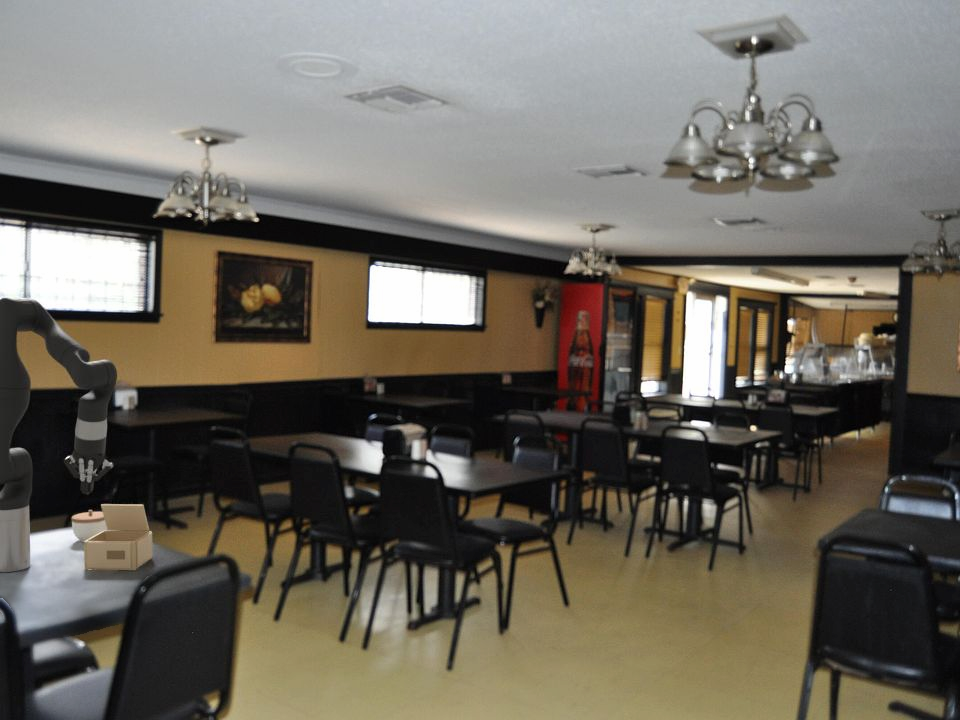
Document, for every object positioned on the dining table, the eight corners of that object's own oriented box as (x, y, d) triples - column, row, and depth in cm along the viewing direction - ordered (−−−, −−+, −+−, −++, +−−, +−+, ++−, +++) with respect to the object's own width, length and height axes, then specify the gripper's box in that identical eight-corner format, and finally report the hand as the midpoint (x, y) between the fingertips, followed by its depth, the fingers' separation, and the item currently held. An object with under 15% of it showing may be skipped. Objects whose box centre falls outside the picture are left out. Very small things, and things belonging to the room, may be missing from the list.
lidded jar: (71, 537, 272) (70, 508, 271) (108, 534, 277) (107, 505, 276) (73, 546, 262) (72, 515, 262) (111, 541, 267) (110, 512, 267)
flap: (107, 530, 249) (100, 505, 245) (108, 529, 250) (101, 504, 246) (148, 530, 249) (142, 505, 245) (149, 529, 250) (143, 504, 245)
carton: (81, 570, 237) (81, 542, 237) (102, 557, 250) (102, 530, 249) (135, 571, 237) (135, 542, 237) (153, 558, 250) (153, 531, 249)
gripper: (121, 432, 232) (116, 491, 236) (71, 424, 231) (67, 483, 235) (111, 442, 225) (105, 502, 229) (59, 434, 224) (55, 494, 228)
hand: (86, 492), depth 232 cm, fingers closed
